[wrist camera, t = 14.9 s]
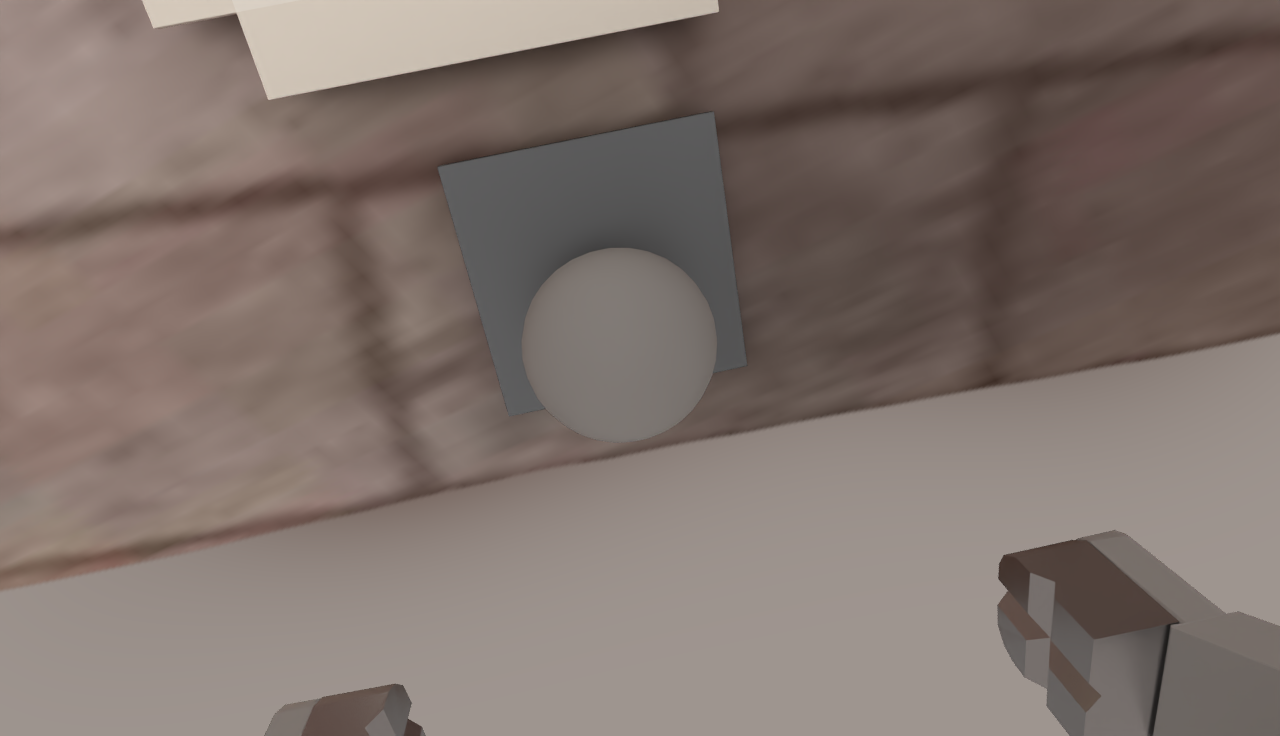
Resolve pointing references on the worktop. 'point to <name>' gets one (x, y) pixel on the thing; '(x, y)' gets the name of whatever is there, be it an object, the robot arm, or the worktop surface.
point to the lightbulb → (619, 344)
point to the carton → (406, 32)
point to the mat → (592, 226)
